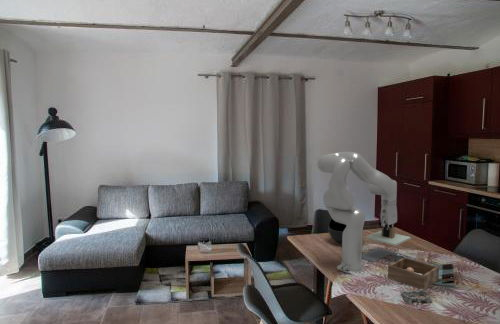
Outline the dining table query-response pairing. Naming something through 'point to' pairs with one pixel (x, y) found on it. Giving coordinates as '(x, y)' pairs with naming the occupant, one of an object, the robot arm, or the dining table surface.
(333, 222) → the coal bowl
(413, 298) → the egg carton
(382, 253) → the mat
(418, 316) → the dining table surface
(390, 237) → the lid
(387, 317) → the dining table surface
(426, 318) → the dining table surface
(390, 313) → the dining table surface
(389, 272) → the box
